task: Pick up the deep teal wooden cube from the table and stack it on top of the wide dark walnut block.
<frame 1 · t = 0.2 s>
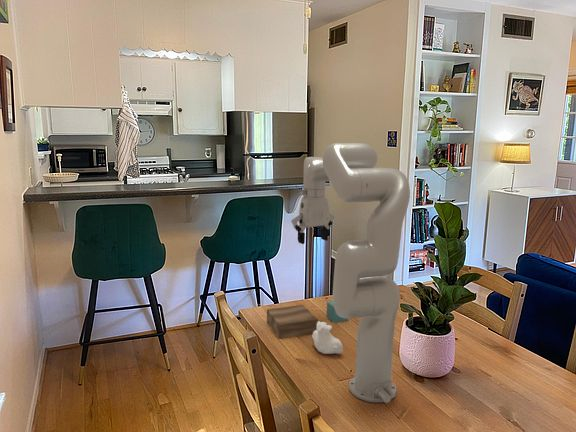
hand: (312, 241, 161), 31 cm above the table, tool pointing down, fingers open, 9 cm apart
teal cube: (337, 318, 171), on the table
bust: (325, 352, 146), on the table
can: (376, 299, 190), on the table
walnut block: (291, 327, 163), on the table
supplement box: (362, 308, 181), on the table
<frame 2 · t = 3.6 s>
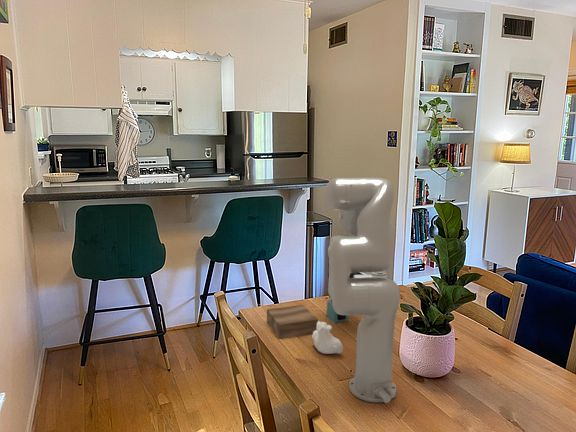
hand: (337, 315, 171), 1 cm above the table, tool pointing down, fingers closed on teal cube, 6 cm apart
teal cube: (337, 318, 171), on the table, touching gripper
everything else where it was.
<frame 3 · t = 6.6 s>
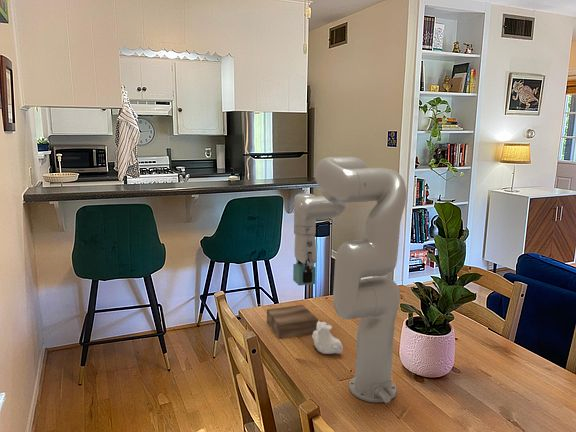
hand: (304, 279, 161), 17 cm above the table, tool pointing down, fingers closed on teal cube, 6 cm apart
teal cube: (304, 282, 161), point 16 cm above the table, touching gripper
everything else where it was.
when the fingers open (6 cm above the table, at t = 9.9 s): teal cube stays where it is, resting on walnut block.
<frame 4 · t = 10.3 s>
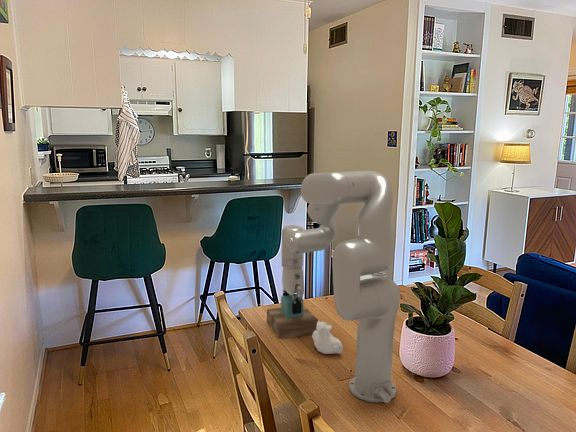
hand: (291, 308, 161), 7 cm above the table, tool pointing down, fingers open, 9 cm apart
teal cube: (291, 314, 162), point 5 cm above the table, touching walnut block
everything else where it was.
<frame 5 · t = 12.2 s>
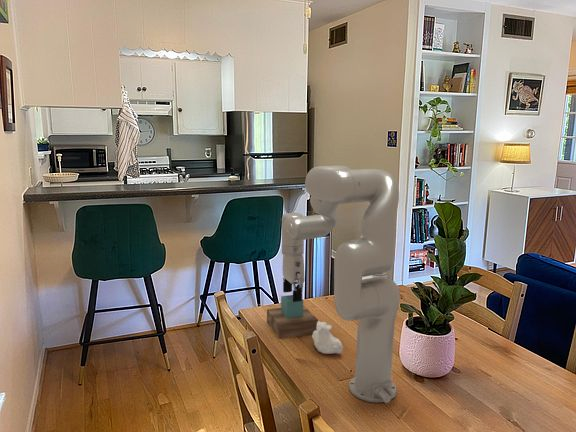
hand: (292, 296, 160), 12 cm above the table, tool pointing down, fingers open, 9 cm apart
nothing on the table moved.
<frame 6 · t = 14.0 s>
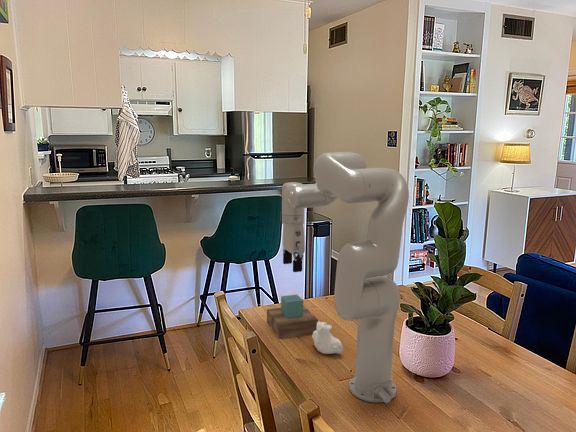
hand: (292, 267, 158), 22 cm above the table, tool pointing down, fingers open, 9 cm apart
nothing on the table moved.
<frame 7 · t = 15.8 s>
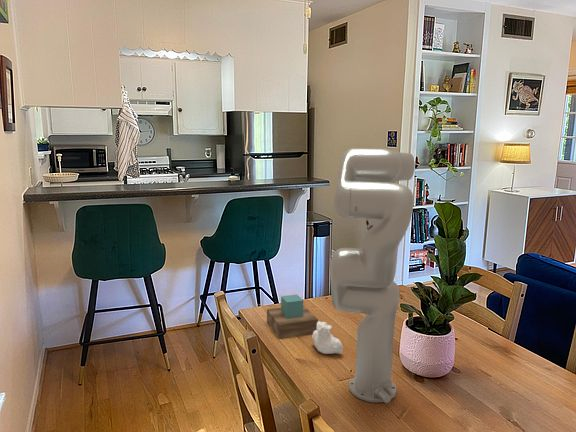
hand: (380, 244, 148), 33 cm above the table, tool pointing down, fingers open, 9 cm apart
nothing on the table moved.
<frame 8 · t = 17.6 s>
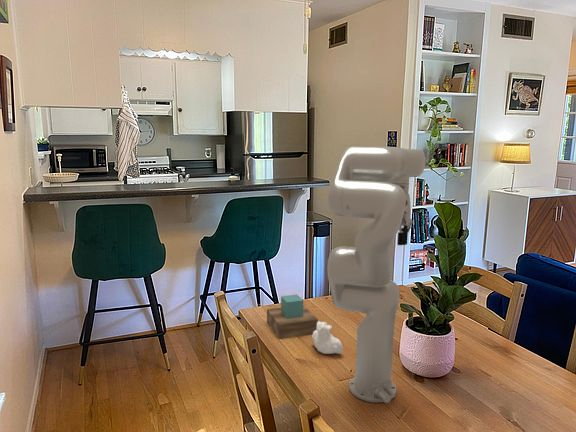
hand: (393, 241, 147), 34 cm above the table, tool pointing down, fingers open, 9 cm apart
nothing on the table moved.
at the end: teal cube inside the target area on the walnut block (0.1 cm from its centre), point 5.0 cm above the walnut block's base; teal cube tilted 0°; the gripper is holding nothing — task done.
